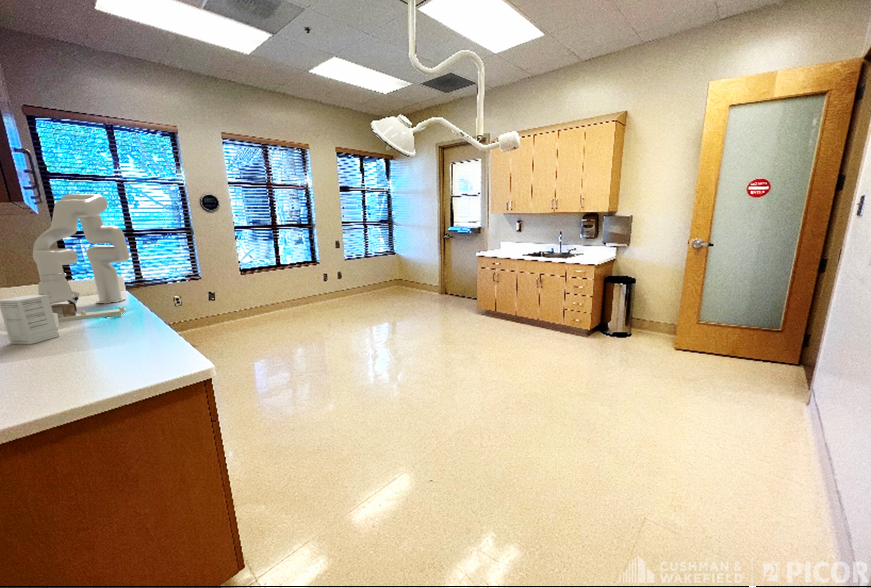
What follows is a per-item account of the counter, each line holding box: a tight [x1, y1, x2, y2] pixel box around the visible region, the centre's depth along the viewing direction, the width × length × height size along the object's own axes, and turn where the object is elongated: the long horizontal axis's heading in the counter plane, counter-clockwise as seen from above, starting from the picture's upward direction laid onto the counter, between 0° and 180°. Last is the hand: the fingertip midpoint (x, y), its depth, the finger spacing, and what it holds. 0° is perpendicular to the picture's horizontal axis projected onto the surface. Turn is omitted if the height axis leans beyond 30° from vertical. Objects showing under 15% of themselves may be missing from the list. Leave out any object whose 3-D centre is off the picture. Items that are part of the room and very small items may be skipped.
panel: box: [58, 306, 127, 323], centre depth 164 cm, size 14×27×3 cm, turn 123°
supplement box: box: [0, 294, 60, 345], centre depth 132 cm, size 10×9×17 cm
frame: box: [51, 303, 77, 318], centre depth 160 cm, size 4×10×6 cm, turn 83°
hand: (61, 314), depth 161 cm, fingers open, 9 cm apart
